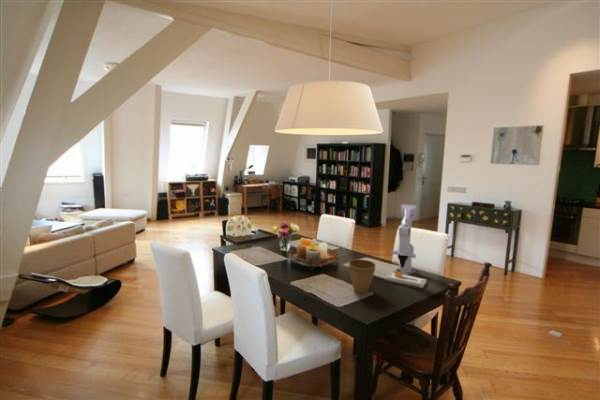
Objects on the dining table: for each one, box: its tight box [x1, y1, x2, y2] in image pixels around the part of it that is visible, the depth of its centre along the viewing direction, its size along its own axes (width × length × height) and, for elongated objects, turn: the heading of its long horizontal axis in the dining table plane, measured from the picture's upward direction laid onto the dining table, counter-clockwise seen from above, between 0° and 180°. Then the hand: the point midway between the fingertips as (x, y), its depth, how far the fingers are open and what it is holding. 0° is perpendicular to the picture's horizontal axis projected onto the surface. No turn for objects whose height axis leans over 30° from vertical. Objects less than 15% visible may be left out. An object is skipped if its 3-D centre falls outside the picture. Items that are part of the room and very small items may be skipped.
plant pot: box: [348, 259, 376, 294], centre depth 186 cm, size 15×15×16 cm
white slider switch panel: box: [385, 271, 427, 289], centre depth 202 cm, size 9×22×2 cm, turn 56°
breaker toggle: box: [394, 267, 404, 277], centre depth 204 cm, size 3×4×4 cm
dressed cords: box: [384, 271, 428, 290], centre depth 202 cm, size 16×21×1 cm
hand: (402, 267), depth 202 cm, fingers closed
